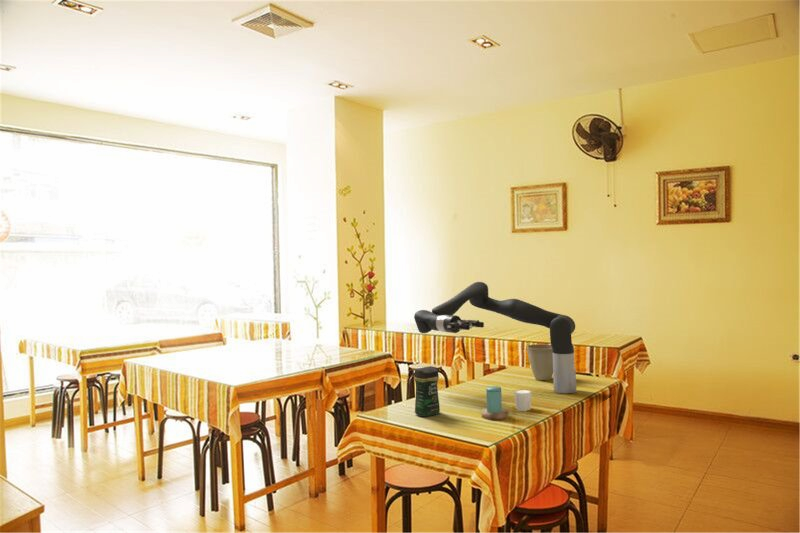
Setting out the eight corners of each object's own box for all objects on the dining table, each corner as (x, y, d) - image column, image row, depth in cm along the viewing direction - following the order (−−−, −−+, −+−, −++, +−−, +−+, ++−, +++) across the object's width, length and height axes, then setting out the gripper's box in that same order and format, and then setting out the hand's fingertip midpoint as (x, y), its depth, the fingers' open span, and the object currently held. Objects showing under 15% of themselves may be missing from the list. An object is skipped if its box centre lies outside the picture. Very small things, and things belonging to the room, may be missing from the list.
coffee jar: (425, 418, 220) (423, 370, 219) (412, 414, 226) (410, 367, 226) (443, 413, 226) (441, 366, 225) (430, 409, 232) (428, 364, 232)
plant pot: (557, 383, 269) (556, 349, 268) (525, 381, 274) (524, 348, 274) (560, 376, 283) (559, 344, 282) (530, 375, 288) (528, 343, 288)
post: (507, 412, 223) (506, 392, 223) (509, 420, 213) (508, 398, 213) (481, 412, 224) (480, 392, 224) (482, 420, 215) (481, 399, 214)
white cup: (522, 412, 223) (521, 394, 223) (510, 408, 229) (510, 391, 229) (535, 409, 226) (535, 392, 226) (524, 405, 232) (523, 388, 232)
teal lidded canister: (501, 409, 221) (500, 386, 221) (502, 413, 216) (501, 389, 216) (486, 409, 222) (485, 386, 222) (487, 413, 216) (486, 389, 216)
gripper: (436, 316, 245) (463, 318, 232) (459, 313, 254) (487, 315, 241) (437, 334, 245) (464, 337, 232) (460, 330, 254) (488, 333, 241)
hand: (476, 326), depth 237 cm, fingers open, 8 cm apart
